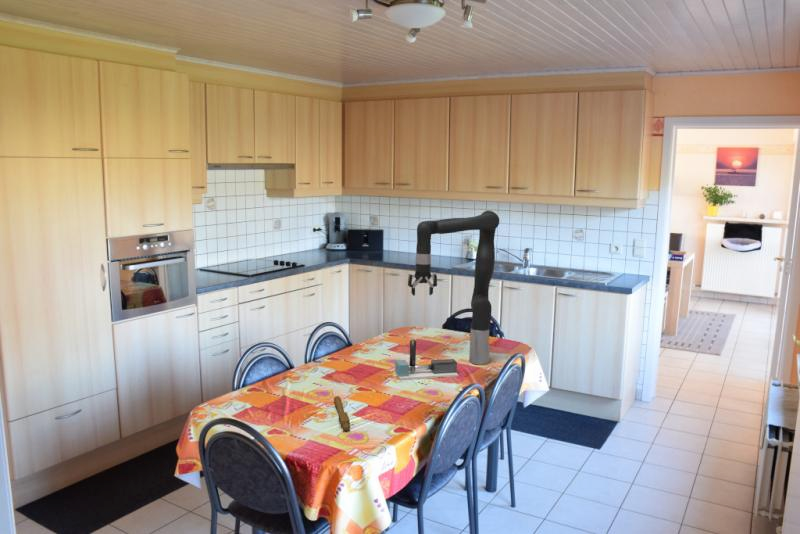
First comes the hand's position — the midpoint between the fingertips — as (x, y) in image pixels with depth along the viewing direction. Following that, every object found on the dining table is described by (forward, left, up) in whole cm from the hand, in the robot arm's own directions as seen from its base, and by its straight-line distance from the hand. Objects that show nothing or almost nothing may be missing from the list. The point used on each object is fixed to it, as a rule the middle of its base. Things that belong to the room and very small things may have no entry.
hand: (422, 295), depth 317 cm
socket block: (+15, +22, -33) cm, 42 cm away
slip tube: (+7, +22, -31) cm, 39 cm away
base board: (+3, +22, -33) cm, 40 cm away
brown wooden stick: (+49, +64, -34) cm, 87 cm away
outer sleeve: (-5, +22, -33) cm, 40 cm away
